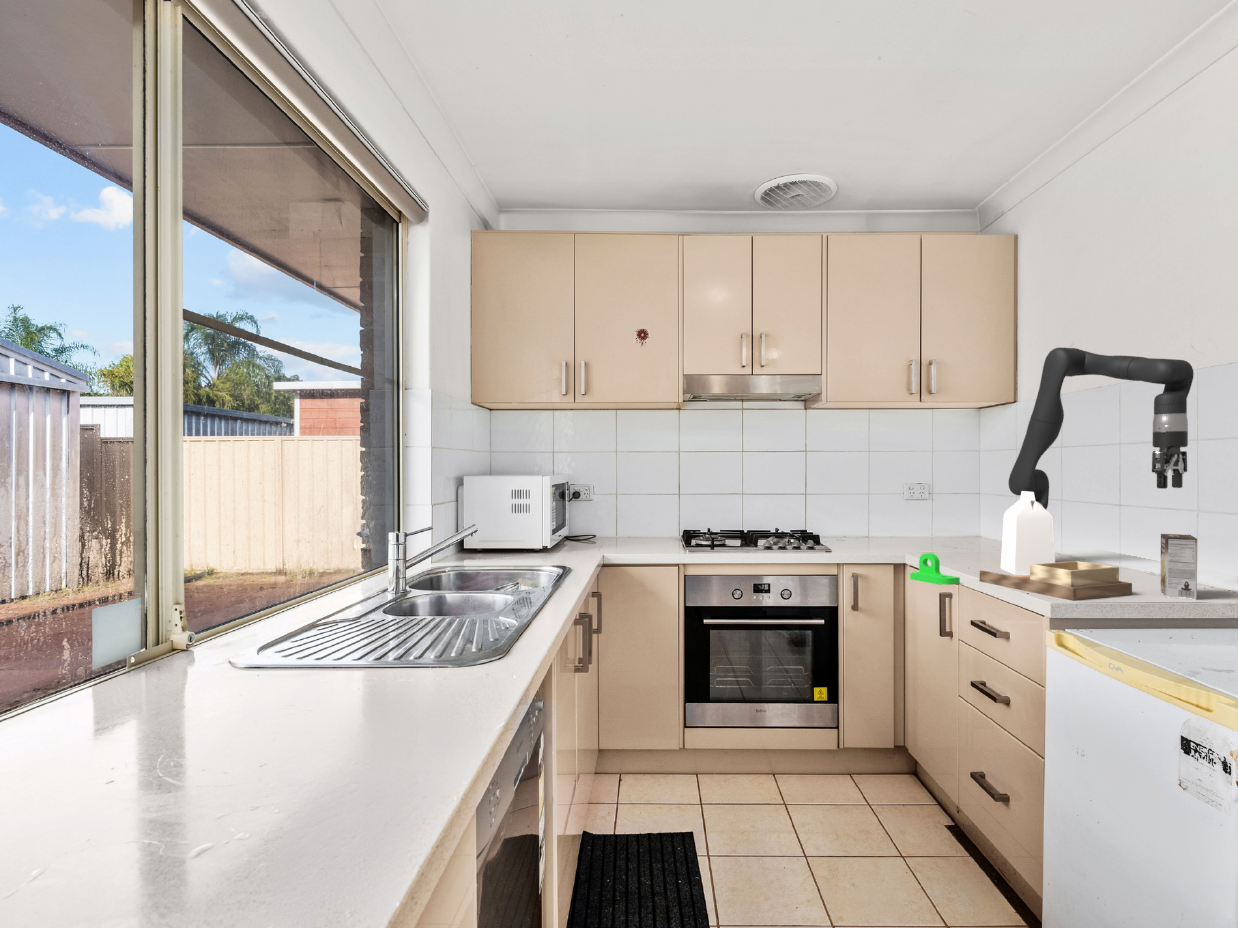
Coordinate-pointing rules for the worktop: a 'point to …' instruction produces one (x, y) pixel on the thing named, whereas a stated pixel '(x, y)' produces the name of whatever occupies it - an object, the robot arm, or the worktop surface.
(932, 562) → the mechanical part
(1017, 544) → the milk
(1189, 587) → the coffee box
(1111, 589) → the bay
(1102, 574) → the crate
